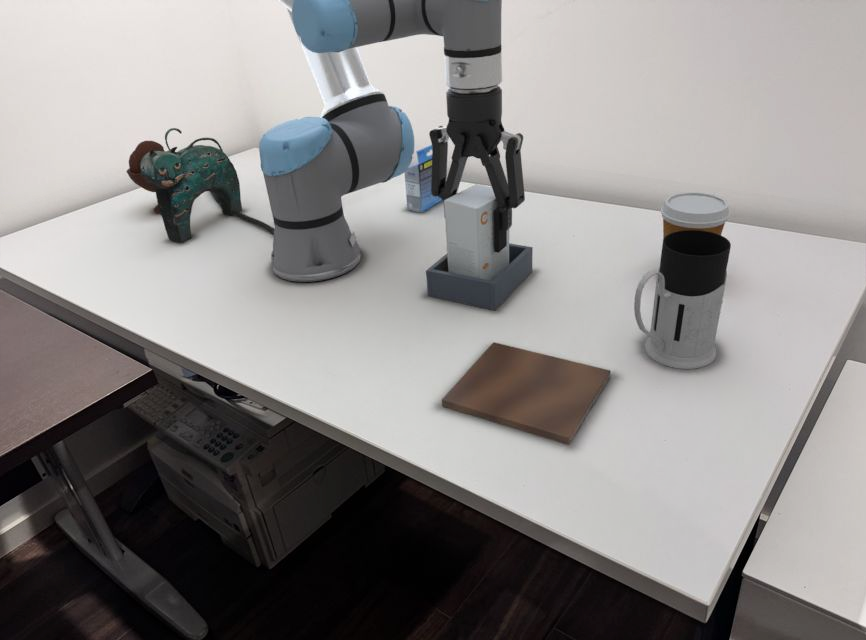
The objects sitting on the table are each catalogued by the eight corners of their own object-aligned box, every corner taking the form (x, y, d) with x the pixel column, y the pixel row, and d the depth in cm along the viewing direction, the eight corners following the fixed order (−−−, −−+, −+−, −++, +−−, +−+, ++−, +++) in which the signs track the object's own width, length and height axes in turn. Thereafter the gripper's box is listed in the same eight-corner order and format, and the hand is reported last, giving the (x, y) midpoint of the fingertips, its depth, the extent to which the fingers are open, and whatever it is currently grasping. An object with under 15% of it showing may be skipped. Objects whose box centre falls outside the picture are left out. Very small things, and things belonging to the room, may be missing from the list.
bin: (427, 295, 104) (425, 270, 101) (468, 260, 113) (467, 236, 111) (495, 310, 98) (494, 284, 96) (532, 272, 108) (532, 247, 106)
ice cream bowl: (203, 203, 147) (184, 134, 139) (161, 221, 139) (139, 149, 131) (171, 197, 152) (152, 130, 144) (130, 214, 144) (106, 144, 136)
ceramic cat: (178, 247, 127) (146, 141, 116) (155, 242, 130) (122, 138, 119) (251, 210, 141) (228, 113, 130) (228, 207, 144) (204, 111, 133)
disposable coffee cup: (722, 292, 98) (737, 215, 91) (654, 290, 100) (664, 214, 93) (713, 264, 106) (726, 191, 99) (650, 262, 108) (659, 190, 101)
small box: (478, 259, 109) (476, 182, 102) (510, 269, 106) (510, 190, 99) (447, 279, 104) (442, 199, 97) (479, 290, 101) (477, 208, 94)
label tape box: (432, 195, 141) (427, 136, 134) (448, 198, 139) (444, 139, 132) (406, 210, 135) (400, 149, 128) (422, 213, 133) (417, 151, 126)
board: (441, 406, 80) (441, 399, 79) (493, 348, 90) (493, 341, 89) (569, 444, 73) (569, 437, 72) (610, 376, 83) (610, 370, 82)
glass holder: (730, 351, 85) (752, 242, 77) (657, 395, 79) (672, 281, 71) (673, 324, 92) (688, 221, 83) (601, 363, 85) (609, 256, 77)
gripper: (397, 89, 92) (410, 243, 104) (530, 98, 83) (528, 266, 95) (425, 77, 97) (434, 225, 109) (553, 84, 88) (548, 245, 101)
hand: (478, 244), depth 102 cm, fingers closed on small box, 7 cm apart
